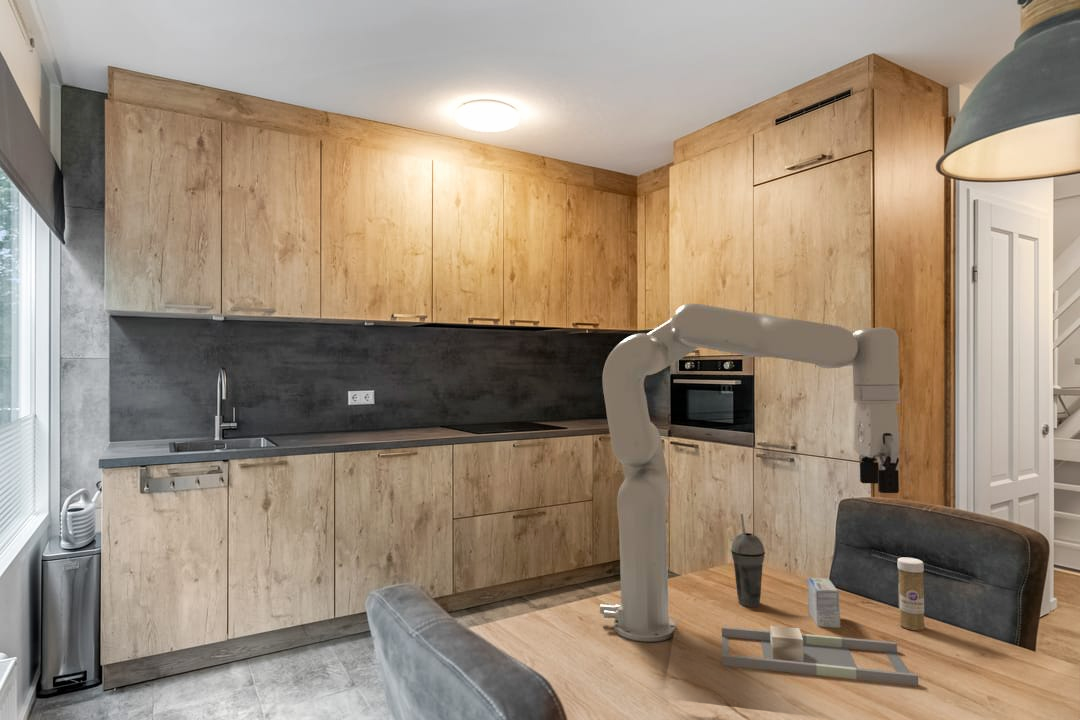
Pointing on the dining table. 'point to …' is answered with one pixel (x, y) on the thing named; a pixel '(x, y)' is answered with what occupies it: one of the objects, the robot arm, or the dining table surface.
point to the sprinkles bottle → (911, 593)
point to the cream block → (786, 643)
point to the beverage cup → (748, 567)
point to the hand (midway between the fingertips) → (878, 487)
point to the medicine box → (823, 602)
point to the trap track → (821, 657)
